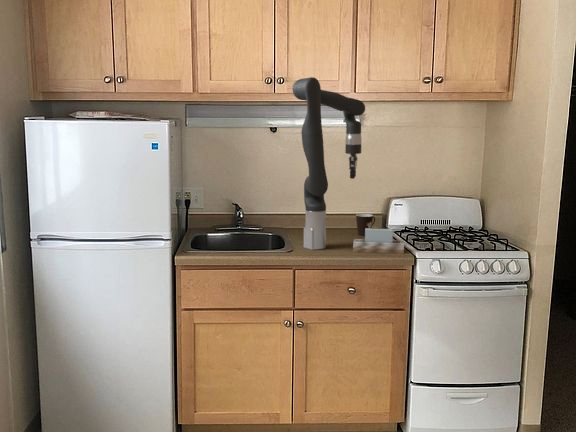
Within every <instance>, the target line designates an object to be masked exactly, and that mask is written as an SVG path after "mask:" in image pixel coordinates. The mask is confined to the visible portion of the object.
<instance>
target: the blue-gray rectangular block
mask: <svg viewBox="0 0 576 432" xmlns="http://www.w3.org/2000/svg"><path fill="white" fill-rule="evenodd" d="M393 231H394V229H393V228H371V229H370V228H365V236H364V239H365V242H378V243H392V241H393V240H394V239H393V238H394V237H393V236H394V235H393V233H394V232H393Z"/></svg>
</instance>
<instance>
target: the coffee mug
mask: <svg viewBox="0 0 576 432" xmlns="http://www.w3.org/2000/svg"><path fill="white" fill-rule="evenodd" d="M355 218H356V229H357V235H358V236H360V237H365V228H370V229H373V227H372V226H374V224H375V222H376V217H375V216H374V215H373V214H370V213H357V214H355Z"/></svg>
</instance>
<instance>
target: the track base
mask: <svg viewBox="0 0 576 432" xmlns="http://www.w3.org/2000/svg"><path fill="white" fill-rule="evenodd" d="M352 243H353V244H352V252H353V253H354V252H355V253H356V252H357V253H379V254H382V253H383V254H405V241H404V240H395V239H393V241H392V243H378V242H365V238H362V239H360V238H354V239H353V242H352Z"/></svg>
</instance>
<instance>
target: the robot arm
mask: <svg viewBox="0 0 576 432" xmlns="http://www.w3.org/2000/svg"><path fill="white" fill-rule="evenodd" d="M319 81H320V80H318V79H317V77H314V76H313V77H311V76H309V77H306V78H300V79H298V80H295V81H294V83H293V84H292V93H293V96H294V97H295V98H296V99H297V100H299V101H306V115H305V118H304V121H303V124H302V126H301V131H300V132H301V133H300V134H301V143H302V148H303V152H304V155H305V158H306V162H307V166H308V176H306V178H305V180H304V183H303V196H304V197H303V198H304V199H303V200H304V206H305V218H304V220H305V226H303V248H304V249H307V250H312V251H313V250H324V249H326V248H327V247H326V246H327V245H326V243H327V242H326V241H327V234H326V233H327V227H326V226H327V204H326V201H325V194H326V192H327V191H328V189H329V188H328V187H329V181H328V177H327V173H326V172H327V171H326V166H325V165H326V164H325V151H324V136H323V126H322V110H321V109H322V108H321V107H322V106H326V107H328V108H331V109H334V110H336V111H339V112H342V113H343V117H344V121H345V125H346V126H345V127H346V130H345V133H346V134H345V154H347V155H348V154H349V155H350V156H349V157H348V167H349V168H348V169H349V178H350V179H351V180H353V179H355V178H356V176H357V166H358V157H357V155H360V154H362V138H363V137H362V123H361V122H360V121H359V120H356V117H357V116H358V117H359V116H362V115H363V114H364V113H365V111H366V105H365V103H364V102H363V101H362V100H360V99H356V98H352V97H348V96H345V95H343V94H341V93H338V92H335V91H331V90H324V89H321V88H322V87H321V84H320V82H319ZM355 116H356V117H355Z"/></svg>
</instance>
